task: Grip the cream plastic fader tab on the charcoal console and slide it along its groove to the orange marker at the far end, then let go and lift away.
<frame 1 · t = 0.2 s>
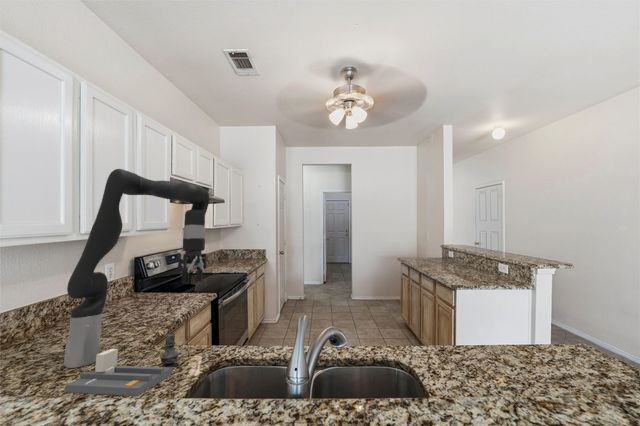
hand: (192, 282, 99), 29 cm above the counter, tool pointing down, fingers open, 8 cm apart
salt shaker: (168, 366, 96), on the counter
fader console: (121, 382, 84), on the counter
fader tab: (106, 363, 86), point 5 cm above the counter, slide at 0.0 cm
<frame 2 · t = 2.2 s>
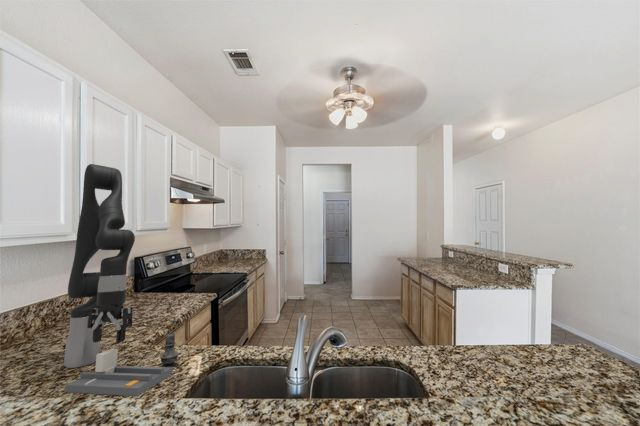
hand: (108, 341, 86), 12 cm above the counter, tool pointing down, fingers open, 8 cm apart
nothing on the counter moved.
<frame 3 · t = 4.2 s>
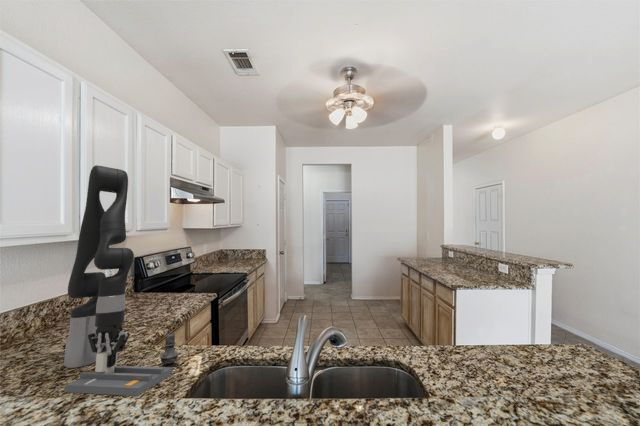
hand: (106, 366, 85), 5 cm above the counter, tool pointing down, fingers closed on fader tab, 2 cm apart
fader tab: (106, 363, 86), point 5 cm above the counter, slide at 0.0 cm, touching gripper
everything else where it was.
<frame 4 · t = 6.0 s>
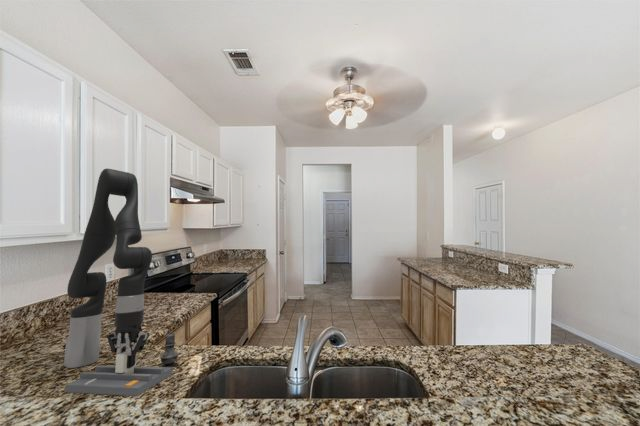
hand: (126, 366, 84), 5 cm above the counter, tool pointing down, fingers closed on fader tab, 2 cm apart
fader tab: (126, 363, 84), point 5 cm above the counter, slide at 7.1 cm, touching gripper
everything else where it was.
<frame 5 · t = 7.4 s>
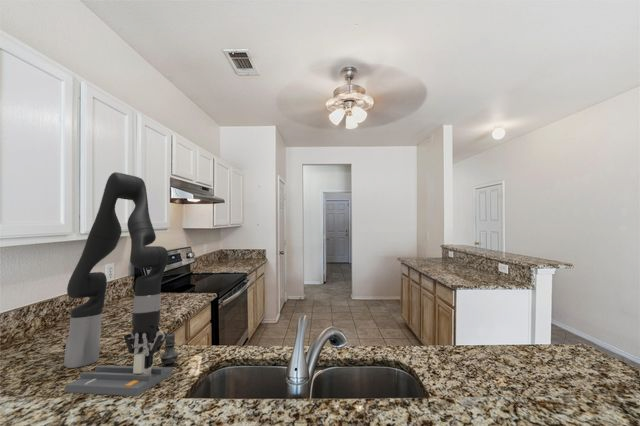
hand: (143, 367, 83), 5 cm above the counter, tool pointing down, fingers closed on fader tab, 2 cm apart
fader tab: (143, 364, 84), point 5 cm above the counter, slide at 13.2 cm, touching gripper
everything else where it was.
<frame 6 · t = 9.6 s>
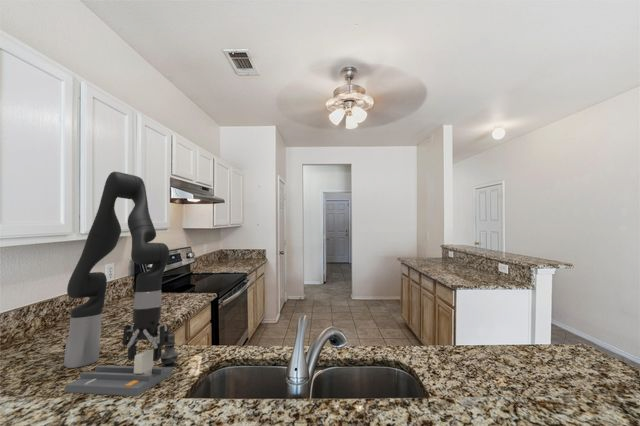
hand: (144, 359, 84), 7 cm above the counter, tool pointing down, fingers open, 8 cm apart
fader tab: (144, 364, 84), point 5 cm above the counter, slide at 13.4 cm
everything else where it was.
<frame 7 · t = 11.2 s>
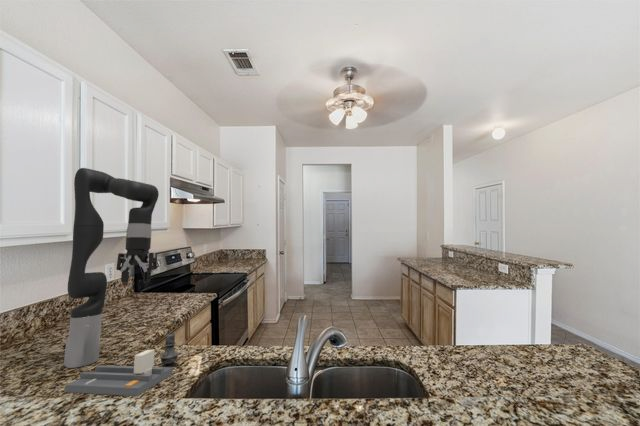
hand: (135, 282, 96), 30 cm above the counter, tool pointing down, fingers open, 8 cm apart
nothing on the counter moved.
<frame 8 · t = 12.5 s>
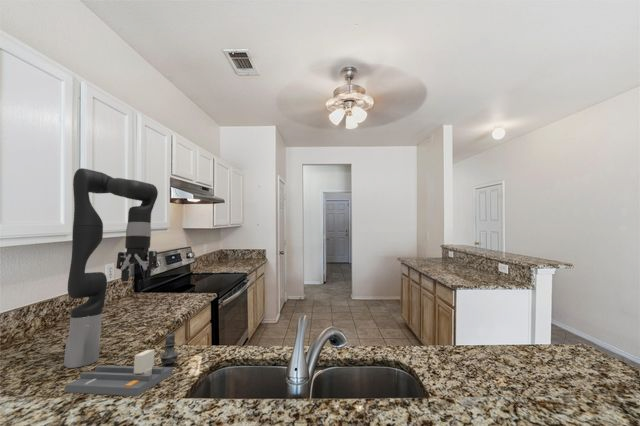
hand: (135, 281, 96), 30 cm above the counter, tool pointing down, fingers open, 8 cm apart
nothing on the counter moved.
at the end: fader tab slide at 13.4 cm; the gripper is holding nothing; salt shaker moved 0.2 cm from its start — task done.
